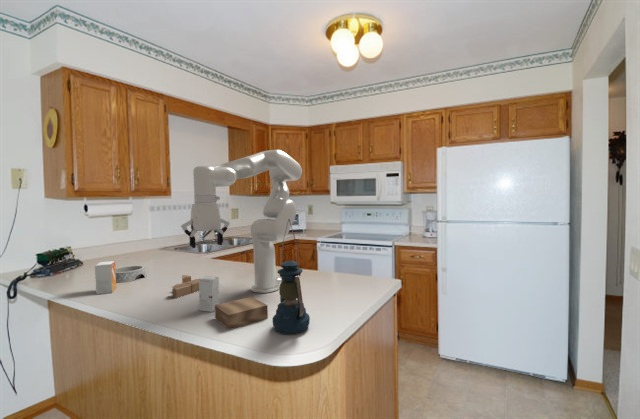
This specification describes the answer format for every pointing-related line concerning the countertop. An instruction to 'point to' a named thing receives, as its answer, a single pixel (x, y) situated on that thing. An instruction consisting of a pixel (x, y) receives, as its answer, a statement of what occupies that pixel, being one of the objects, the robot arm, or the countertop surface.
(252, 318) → the brown cardboard box
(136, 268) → the dog bowl
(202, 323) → the countertop surface
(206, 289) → the skincare box
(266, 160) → the robot arm
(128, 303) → the countertop surface
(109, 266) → the small box
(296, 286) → the lantern
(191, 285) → the wooden block set
